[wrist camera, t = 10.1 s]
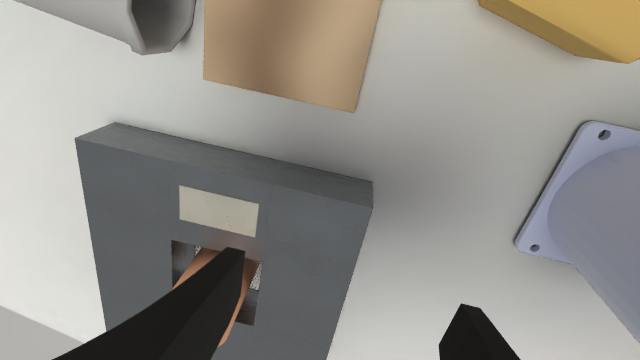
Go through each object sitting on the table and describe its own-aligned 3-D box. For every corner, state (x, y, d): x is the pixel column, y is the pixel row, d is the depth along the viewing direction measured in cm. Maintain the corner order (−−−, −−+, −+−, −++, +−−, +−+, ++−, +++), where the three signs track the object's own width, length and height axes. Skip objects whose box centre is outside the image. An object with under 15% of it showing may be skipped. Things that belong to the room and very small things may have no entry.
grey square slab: (372, 182, 19) (372, 209, 16) (321, 354, 26) (315, 393, 24) (114, 122, 20) (73, 138, 17) (133, 306, 27) (106, 339, 24)
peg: (263, 237, 22) (230, 308, 17) (257, 280, 24) (226, 356, 19) (205, 224, 22) (154, 290, 17) (205, 267, 24) (159, 339, 19)
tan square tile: (398, -75, 14) (400, -82, 13) (355, 108, 17) (354, 113, 17) (218, -111, 14) (207, -120, 13) (211, 76, 18) (203, 79, 17)
